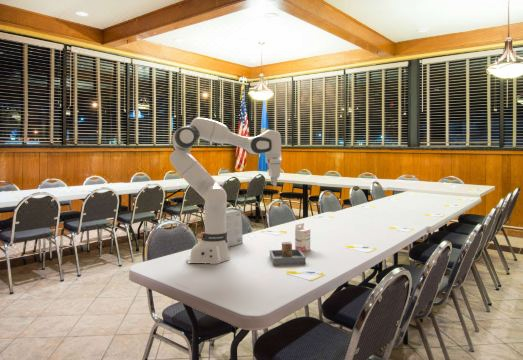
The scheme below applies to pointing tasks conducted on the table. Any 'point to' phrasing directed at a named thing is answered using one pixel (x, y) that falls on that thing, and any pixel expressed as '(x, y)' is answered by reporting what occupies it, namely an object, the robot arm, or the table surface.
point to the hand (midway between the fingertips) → (273, 185)
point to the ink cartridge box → (302, 238)
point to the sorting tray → (294, 260)
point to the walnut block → (286, 249)
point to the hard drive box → (234, 227)
